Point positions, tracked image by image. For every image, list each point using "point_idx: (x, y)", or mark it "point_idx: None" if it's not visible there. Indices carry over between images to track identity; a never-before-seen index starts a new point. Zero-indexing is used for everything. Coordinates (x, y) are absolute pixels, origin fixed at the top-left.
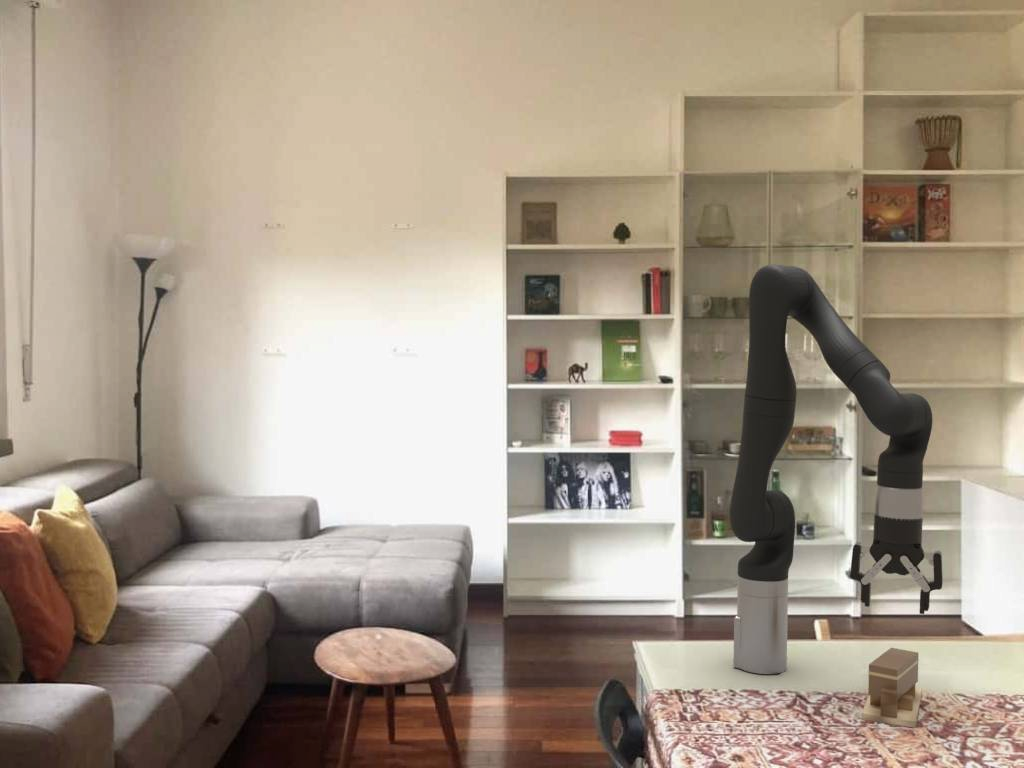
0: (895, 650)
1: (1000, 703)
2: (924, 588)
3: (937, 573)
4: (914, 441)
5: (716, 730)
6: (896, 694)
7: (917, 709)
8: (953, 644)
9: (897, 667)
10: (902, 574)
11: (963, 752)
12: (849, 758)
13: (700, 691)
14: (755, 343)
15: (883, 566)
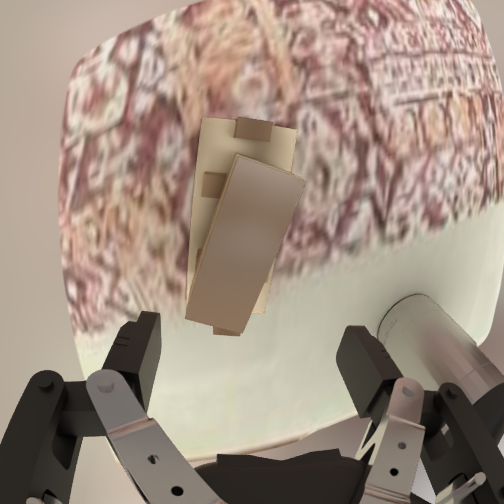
0: (234, 316)
1: (82, 297)
2: (111, 381)
3: (23, 438)
4: None
5: (465, 63)
6: (239, 117)
7: (194, 186)
8: None
9: (236, 177)
10: (237, 458)
11: (138, 48)
12: None
13: (481, 200)
14: None
15: (373, 471)
